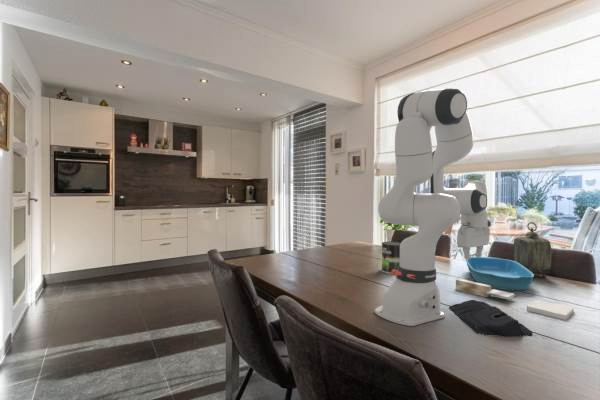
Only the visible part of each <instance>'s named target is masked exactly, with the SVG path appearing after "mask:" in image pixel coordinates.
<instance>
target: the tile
mask: <svg viewBox="0 0 600 400" xmlns="http://www.w3.org/2000/svg"><path fill="white" fill-rule="evenodd" d="M574 309H575V308H574V307H572V306H567V305H563V304H558V303H554V302H551V301H550V302H549V301H545V300H541V299H535V300H534V301H532V302H530V303H529V304H528V305H527V304H526V311H528V312H533V313H535V314H539V315H543V316H547V317H548V316H549V317H551V318H556V319H559V320H562V321H563V320H564V321H566V320H568V318H569V317H571V315H572V314H573V313H574V312H575V311H574Z"/></svg>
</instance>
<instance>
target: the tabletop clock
mask: <svg viewBox="0 0 600 400" xmlns="http://www.w3.org/2000/svg"><path fill="white" fill-rule="evenodd" d="M531 224H533V225H534V227H535V229H534V228H533V227H531V228H530V225H531ZM526 226H527V229H528V230H529V231H527V232H526V233H525V234H524V236H518V237H516V238H513V239H514V240H513V248H512V249H513V251H512V253H513V261H515V262H518V263H520V264H521V265H523V266H524V267H525V268H527V269H528V270H529V271H531V272H532V273H533V270H537V271H538V272H539V273H540V274H541V277H542V278H543V279H546V278H547V275H546V274H544V273H543V271H542V270H550V269H551V266H552V244H551V241H550V240H549V239H547V238H545V237H540V236H539V234H538V233H537V232H536V231H537V229H538V228H537V227H538V226H537V224H536V223H535V222H534V221H530V222H528V223H527V225H526Z"/></svg>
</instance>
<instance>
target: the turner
mask: <svg viewBox="0 0 600 400" xmlns="http://www.w3.org/2000/svg"><path fill="white" fill-rule="evenodd" d="M455 290H457V291H462V292H465V293H469V294H473V295H477V296H482V297H486V298H490V297H497V298H500V299H505V300H510V299H511V298H514V297H515V293H512V292H508V291H504V290H500V289H496V288H491V286H490V285H486V284H481V283H477V282H475V281H472V280H466V279H463V278H457V279H455Z"/></svg>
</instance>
